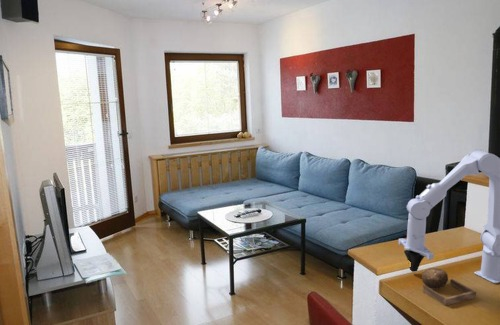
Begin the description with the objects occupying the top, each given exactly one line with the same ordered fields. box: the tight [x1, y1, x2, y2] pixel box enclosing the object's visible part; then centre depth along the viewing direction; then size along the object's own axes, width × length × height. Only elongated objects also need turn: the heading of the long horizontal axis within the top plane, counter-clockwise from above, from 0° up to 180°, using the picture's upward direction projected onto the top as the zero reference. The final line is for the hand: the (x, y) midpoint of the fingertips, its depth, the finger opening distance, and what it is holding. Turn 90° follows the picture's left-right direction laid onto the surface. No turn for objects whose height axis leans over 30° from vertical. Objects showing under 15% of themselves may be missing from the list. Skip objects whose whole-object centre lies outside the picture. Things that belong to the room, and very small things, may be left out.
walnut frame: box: [422, 278, 477, 306], centre depth 124 cm, size 12×9×2 cm
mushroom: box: [421, 267, 449, 290], centre depth 129 cm, size 8×8×6 cm
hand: (413, 270), depth 138 cm, fingers closed
